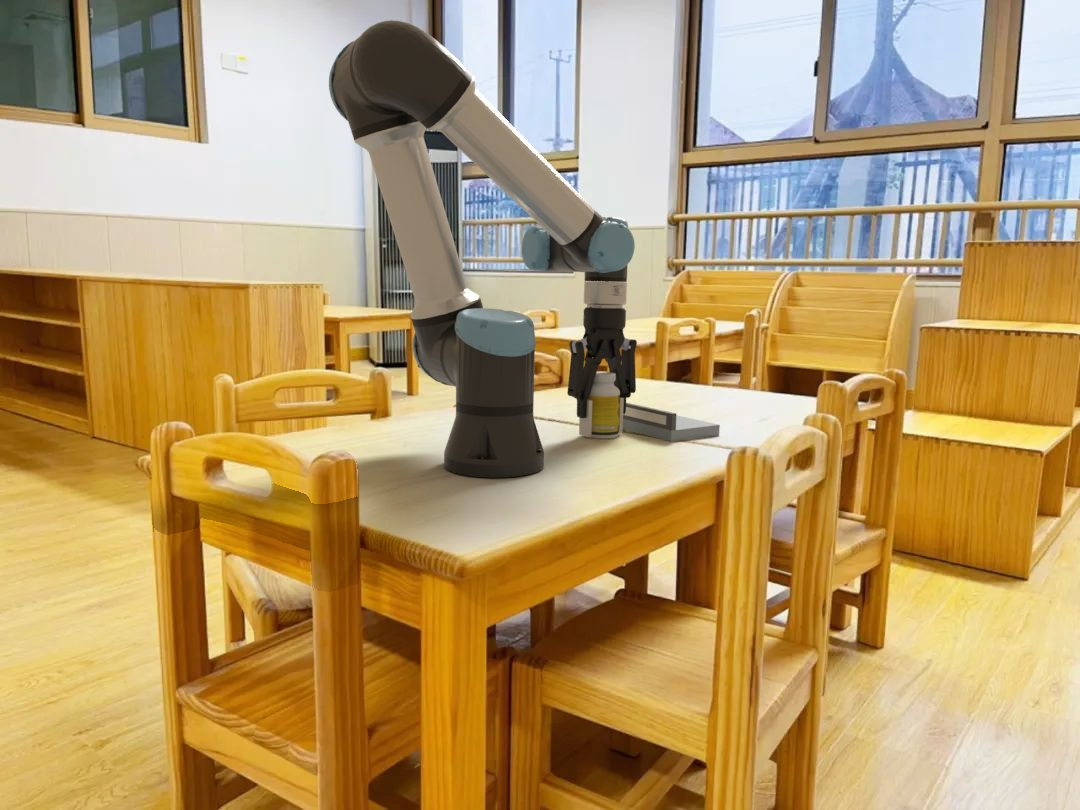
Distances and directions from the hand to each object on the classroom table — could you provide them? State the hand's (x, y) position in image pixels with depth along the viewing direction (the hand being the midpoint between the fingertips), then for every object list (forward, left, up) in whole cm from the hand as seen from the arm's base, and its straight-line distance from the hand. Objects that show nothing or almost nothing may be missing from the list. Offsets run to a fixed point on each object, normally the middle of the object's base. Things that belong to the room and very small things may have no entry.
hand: (600, 433), depth 148 cm
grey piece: (+14, -2, 0) cm, 14 cm away
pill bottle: (0, 0, -1) cm, 1 cm away
